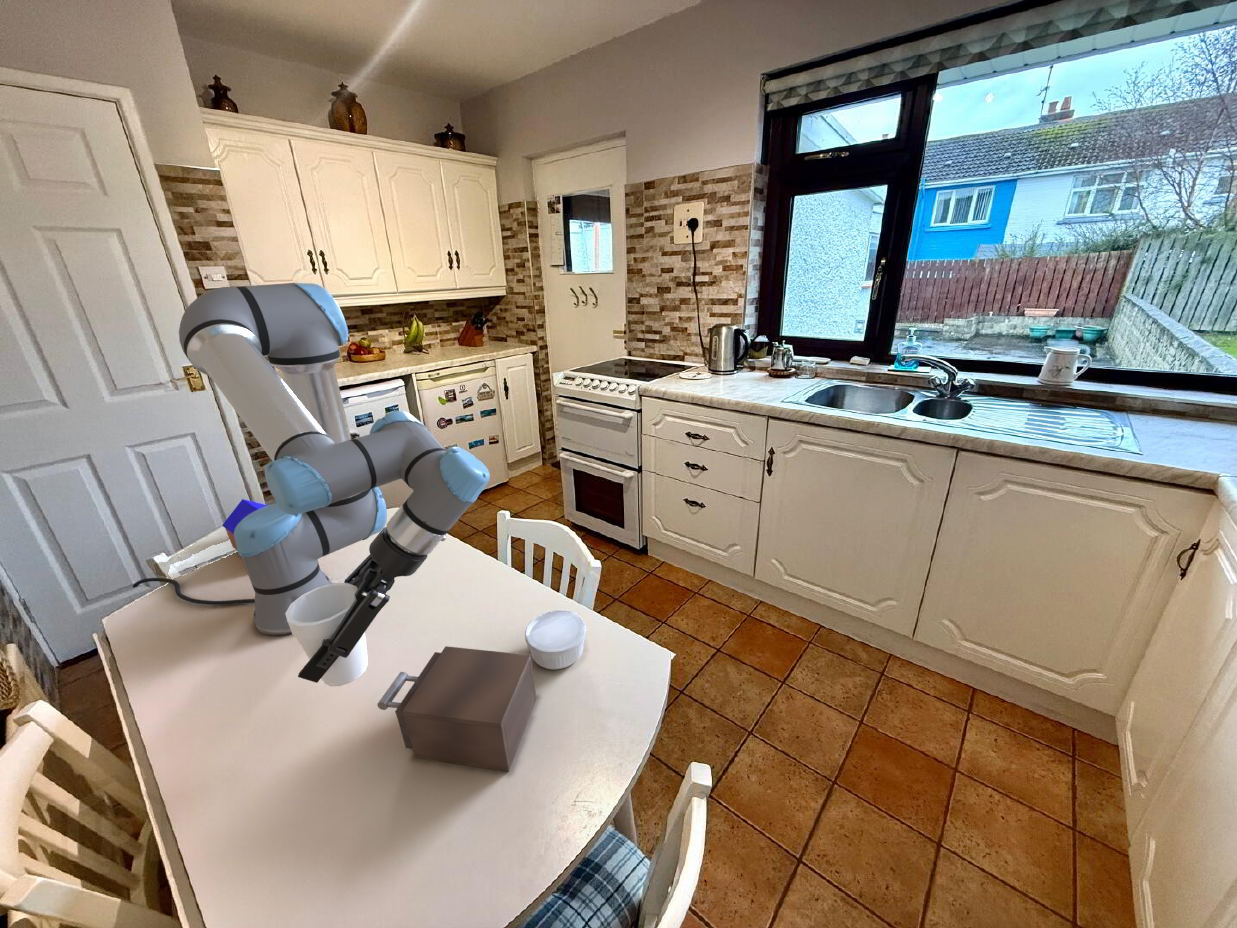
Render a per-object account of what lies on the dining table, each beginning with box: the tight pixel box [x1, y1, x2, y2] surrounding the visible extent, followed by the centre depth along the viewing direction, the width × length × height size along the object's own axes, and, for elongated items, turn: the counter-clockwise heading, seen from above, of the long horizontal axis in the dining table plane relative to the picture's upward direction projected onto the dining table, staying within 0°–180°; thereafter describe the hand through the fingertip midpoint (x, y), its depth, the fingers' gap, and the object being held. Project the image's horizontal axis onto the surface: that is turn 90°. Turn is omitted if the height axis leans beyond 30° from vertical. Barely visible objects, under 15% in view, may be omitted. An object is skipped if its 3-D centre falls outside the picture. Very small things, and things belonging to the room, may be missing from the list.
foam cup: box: [285, 582, 369, 687], centre depth 73 cm, size 10×9×13 cm
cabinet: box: [403, 645, 537, 772], centre depth 74 cm, size 15×13×10 cm
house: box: [221, 498, 269, 551], centre depth 124 cm, size 12×20×12 cm, turn 54°
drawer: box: [376, 651, 441, 750], centre depth 75 cm, size 19×11×8 cm, turn 81°
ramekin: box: [524, 609, 587, 670], centre depth 89 cm, size 11×11×5 cm
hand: (314, 652), depth 72 cm, fingers closed on foam cup, 9 cm apart
